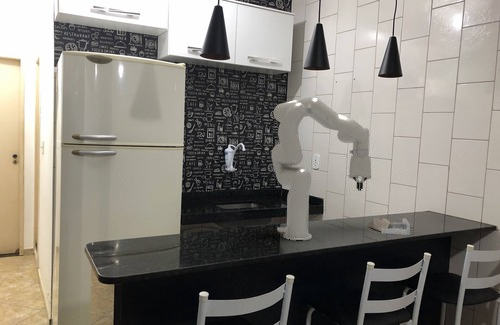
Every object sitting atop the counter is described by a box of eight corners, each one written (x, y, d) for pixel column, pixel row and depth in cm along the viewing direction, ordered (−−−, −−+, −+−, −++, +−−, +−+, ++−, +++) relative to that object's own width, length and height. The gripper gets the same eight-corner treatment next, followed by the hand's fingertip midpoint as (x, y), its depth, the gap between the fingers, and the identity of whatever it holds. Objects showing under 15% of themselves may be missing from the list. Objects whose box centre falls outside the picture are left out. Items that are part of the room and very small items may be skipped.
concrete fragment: (380, 233, 189) (381, 220, 189) (366, 227, 203) (367, 215, 202) (394, 233, 190) (394, 220, 190) (379, 226, 204) (379, 214, 204)
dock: (381, 233, 188) (381, 222, 188) (379, 226, 203) (379, 217, 202) (409, 235, 185) (410, 224, 185) (405, 228, 200) (405, 218, 199)
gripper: (344, 153, 194) (343, 190, 195) (377, 153, 191) (375, 192, 192) (345, 152, 202) (344, 188, 203) (376, 153, 198) (375, 190, 199)
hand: (359, 190), depth 197 cm, fingers closed
